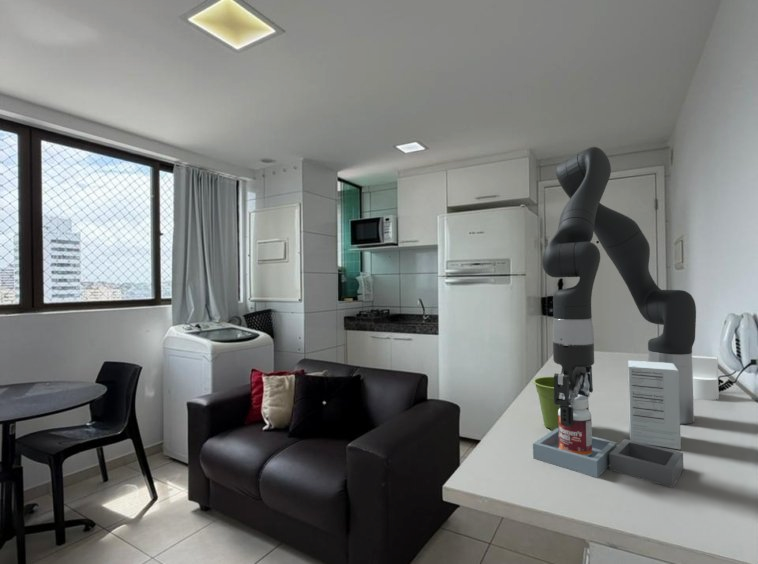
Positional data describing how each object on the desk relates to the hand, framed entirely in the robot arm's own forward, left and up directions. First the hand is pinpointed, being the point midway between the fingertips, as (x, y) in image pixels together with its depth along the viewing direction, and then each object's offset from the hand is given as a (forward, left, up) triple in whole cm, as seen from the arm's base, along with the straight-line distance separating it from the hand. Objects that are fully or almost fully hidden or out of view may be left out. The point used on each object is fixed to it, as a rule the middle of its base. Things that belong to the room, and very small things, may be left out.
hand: (575, 420), depth 81 cm
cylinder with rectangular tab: (-71, +11, -8) cm, 72 cm away
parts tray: (0, 0, -8) cm, 8 cm away
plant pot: (-15, -9, -8) cm, 19 cm away
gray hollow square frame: (-4, +11, -8) cm, 14 cm away
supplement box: (-22, +9, -8) cm, 25 cm away
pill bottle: (0, 0, -7) cm, 7 cm away
